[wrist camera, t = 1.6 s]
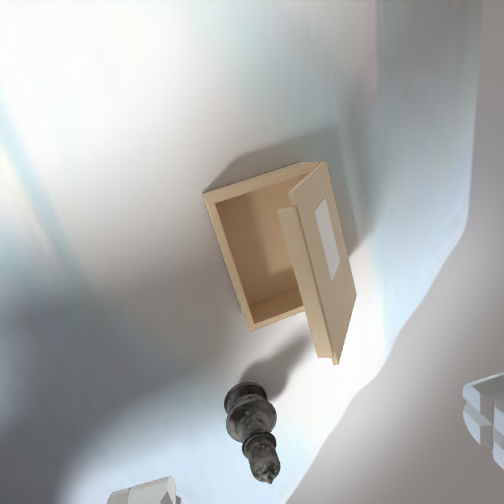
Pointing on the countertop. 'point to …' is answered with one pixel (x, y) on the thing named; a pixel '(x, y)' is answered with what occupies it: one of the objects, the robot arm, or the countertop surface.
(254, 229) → the mailer box
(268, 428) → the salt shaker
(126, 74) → the countertop surface
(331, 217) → the lid
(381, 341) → the countertop surface
